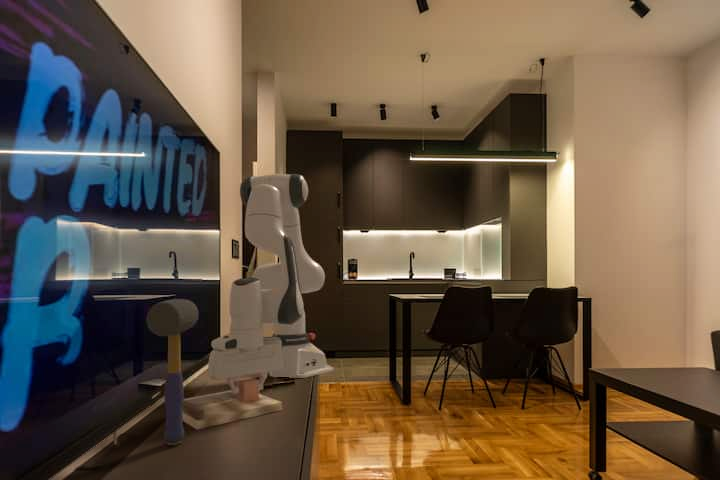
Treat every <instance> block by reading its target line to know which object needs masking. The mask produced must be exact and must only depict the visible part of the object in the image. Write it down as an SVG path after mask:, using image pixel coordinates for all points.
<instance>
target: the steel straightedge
mask: <svg viewBox="0 0 720 480" xmlns="http://www.w3.org/2000/svg"><path fill="white" fill-rule="evenodd" d="M231 399H236V395H232V394H231V389H230V390H226V391H220V392H214V393H209V394H205V395H199V396H198V395H197V396H194V397H187V398H183V401H184V400H186V401H187V402H189V403H191V404H193V405H195V406H200V405H206V404H211V403H216V402H221V401H226V400H231Z"/></svg>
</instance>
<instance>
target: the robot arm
mask: <svg viewBox="0 0 720 480" xmlns="http://www.w3.org/2000/svg"><path fill="white" fill-rule="evenodd" d="M308 195H309V187H308V183H307V180H306V178H305V177H304V176H303V175H302V174H298V173H297V174H296V173H291V174H289V173H272V174H265V175H258V176H255V175H252V176H248V177H246V178H244V179H243V180H242V182H241V184H240V188H239V196H240V199H241V203H242V204H243V205H244V206H245V207H246V208H245V209H246V210H245V219H244V234H245V237H246V239H247V240H248V242H249V243H250V244H251V245H253V247H256V248H258V249H260V250H263V251H265V252H268V253H270V254H273V255H275V256H277V257H278V259H279V261H280V262H271V263H270V262H269V263H265V264H261V265H258V266H257V267H256V268H255V269H254V271H253V273H252V276H251V277H244V278H239V279H235V280H234V281H232V283H231V287H230V294H229V304H228V305H229V316H230V324H229V332H228V333H226V334H224V335H222V336H219V337H217V338H215V339H213V340H212V341H211V348H212V351H210V354H209V357H208V368H207V374H208V377H209V378H210V379H211V380H213V381H220V380H226V382H227V384H228V386H229V387H230V390H231V394H232V395H236V394H239V387H237V386H236V383H234V382H236V378H239V377H244V376H250V375H255V374H258V376H259V379H258V380H259V391H261V390H264V383H265V381H266V379H267V377H268V373H269V376H270V377H272V378H277V377H289V378H288V379H292V378H293V379H298V378H299V379H306V378H309V377H313V376H317V375H321V374H325V373H329V372H333V371H334V367H332V366H331V365H329V364H327V357H326V353H324V351H322V350H321V349H320V348H318V347H316V346H315V345H314V344H313V343H311V340H314V339H316V335H315V333H312V332H310V333H308V332H306V313H305V309H304V300H303V296H302V294H309V293H314V292H317V291H320V290H321V289H322V288H323V286H324V284H325V279H326V275H325V271H324V269H323V267H322V266H321V265H320V263H318V262H316V261H315V260H313V258H311V257H310V255H309V254H308V253H307V251H306V249H305V247H304V244H303V239H302V231H301V222H300V220H301V219H300V213H299V208H301V207H302V206H303V205H304V204H305V203H306V202H307V199H308ZM264 324H273V333H272V335H271V336H264V334H265V333H264Z"/></svg>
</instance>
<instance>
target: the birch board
mask: <svg viewBox="0 0 720 480" xmlns="http://www.w3.org/2000/svg"><path fill="white" fill-rule="evenodd" d="M280 411H283V402H282V401H280V400H278V399H274V398H271V397H269V396H266V395H263V394H262V393H259V400H254V401H249V402H243V401H240V400H238V399H231V400H226V401H221V402H216V403H211V404H206V405H200V406H195V405H193V404H191V403H189V402H187V401H186V400H184V401H183V407H182V422H184V423H186V424H187V425H188V426H190V427H192V428H194V429H195V430H201V429H205V428H211V427H213V426H214V427H215V426H219V425H224V424H228V423H233V422H236V421H241V420H245V419H249V418H254V417H259V416H262V415H268V414H271V413H275V412H280Z"/></svg>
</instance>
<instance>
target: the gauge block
mask: <svg viewBox="0 0 720 480" xmlns="http://www.w3.org/2000/svg"><path fill="white" fill-rule="evenodd" d="M235 382H236V383H235V386H237V387H239V394H236V399H238V400H240V401H243V402H249V401H254V400H259V394H260V390H259V379H257V378H254V377H253V378H252V377H245V378H238V379H235Z"/></svg>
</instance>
